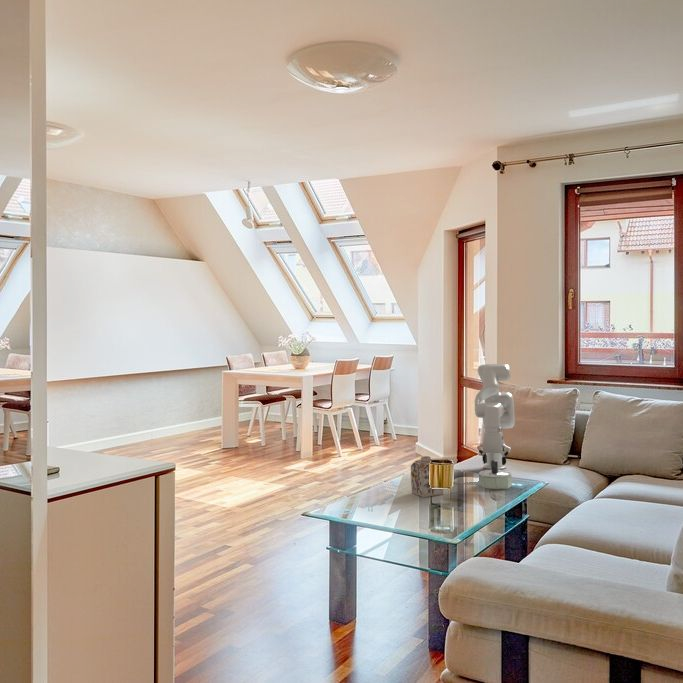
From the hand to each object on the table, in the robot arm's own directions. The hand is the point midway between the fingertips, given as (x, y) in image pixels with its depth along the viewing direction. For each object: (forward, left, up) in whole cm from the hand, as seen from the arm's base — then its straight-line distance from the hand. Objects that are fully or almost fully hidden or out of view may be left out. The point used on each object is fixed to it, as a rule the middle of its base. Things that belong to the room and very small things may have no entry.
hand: (494, 463), depth 338 cm
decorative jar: (+26, -25, -11) cm, 38 cm away
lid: (0, 0, -5) cm, 5 cm away
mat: (-6, -17, -11) cm, 21 cm away
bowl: (0, 0, -11) cm, 11 cm away
